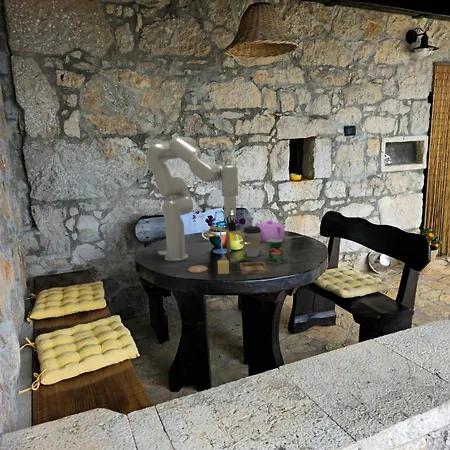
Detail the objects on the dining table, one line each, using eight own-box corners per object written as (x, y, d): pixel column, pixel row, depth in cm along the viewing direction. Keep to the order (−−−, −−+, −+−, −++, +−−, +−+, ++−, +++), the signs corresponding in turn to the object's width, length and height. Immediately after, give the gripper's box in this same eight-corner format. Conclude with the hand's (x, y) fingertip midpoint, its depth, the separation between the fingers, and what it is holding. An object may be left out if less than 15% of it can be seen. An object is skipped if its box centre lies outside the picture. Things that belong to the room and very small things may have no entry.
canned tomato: (274, 264, 196) (274, 242, 194) (263, 261, 202) (263, 239, 200) (286, 261, 201) (286, 240, 198) (275, 258, 207) (275, 237, 205)
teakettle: (285, 243, 236) (285, 222, 234) (256, 244, 237) (256, 223, 234) (282, 237, 253) (282, 217, 251) (255, 237, 253) (254, 218, 251)
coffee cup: (260, 258, 208) (260, 229, 205) (242, 257, 209) (241, 229, 207) (262, 253, 217) (262, 225, 214) (245, 252, 219) (244, 225, 216)
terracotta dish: (187, 272, 187) (187, 271, 187) (188, 267, 196) (188, 265, 196) (207, 272, 188) (207, 270, 187) (207, 266, 196) (207, 265, 196)
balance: (205, 264, 200) (203, 227, 196) (205, 260, 206) (204, 225, 202) (252, 262, 200) (251, 226, 197) (251, 259, 206) (250, 223, 203)
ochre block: (218, 274, 185) (217, 263, 184) (218, 270, 190) (217, 260, 189) (229, 273, 185) (228, 263, 184) (228, 270, 190) (228, 260, 189)
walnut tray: (241, 274, 182) (241, 270, 182) (239, 266, 194) (239, 262, 194) (267, 273, 183) (267, 269, 182) (264, 265, 195) (264, 261, 194)
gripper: (220, 190, 193) (222, 226, 196) (222, 195, 176) (224, 233, 180) (236, 190, 194) (237, 225, 197) (240, 194, 177) (241, 232, 180)
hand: (231, 229), depth 188 cm, fingers open, 9 cm apart
